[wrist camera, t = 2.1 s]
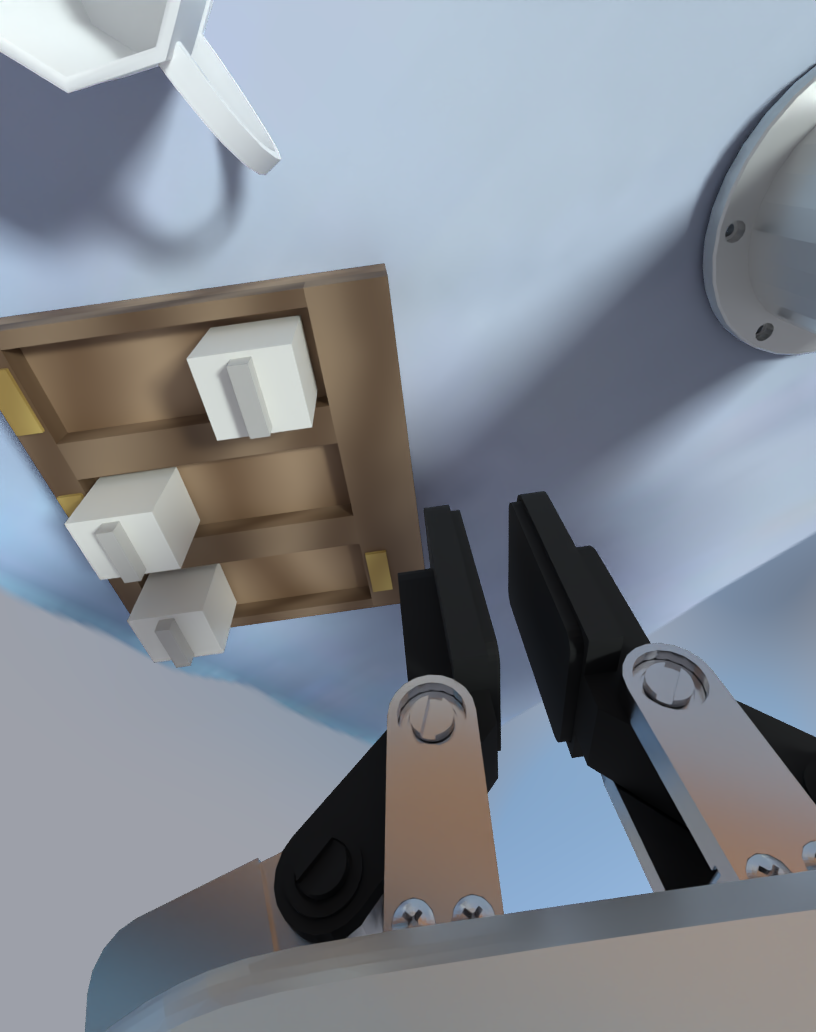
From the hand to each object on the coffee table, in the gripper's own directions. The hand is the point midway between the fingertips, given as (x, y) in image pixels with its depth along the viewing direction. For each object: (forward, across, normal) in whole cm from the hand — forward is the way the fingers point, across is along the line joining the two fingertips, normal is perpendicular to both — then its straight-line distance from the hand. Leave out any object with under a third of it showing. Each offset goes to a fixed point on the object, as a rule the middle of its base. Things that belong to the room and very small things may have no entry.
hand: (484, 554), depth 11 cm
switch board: (+17, +10, +6) cm, 21 cm away
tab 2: (+15, +7, 0) cm, 17 cm away
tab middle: (+15, +15, +7) cm, 22 cm away
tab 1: (+15, +15, +13) cm, 25 cm away
